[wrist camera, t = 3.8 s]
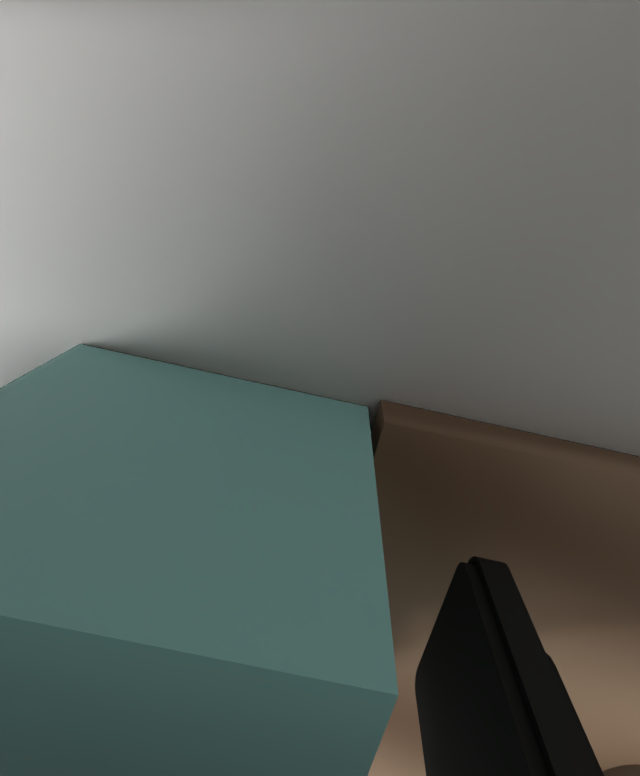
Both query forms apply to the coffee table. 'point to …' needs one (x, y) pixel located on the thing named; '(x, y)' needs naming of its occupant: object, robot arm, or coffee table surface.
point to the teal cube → (187, 576)
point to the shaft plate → (514, 561)
